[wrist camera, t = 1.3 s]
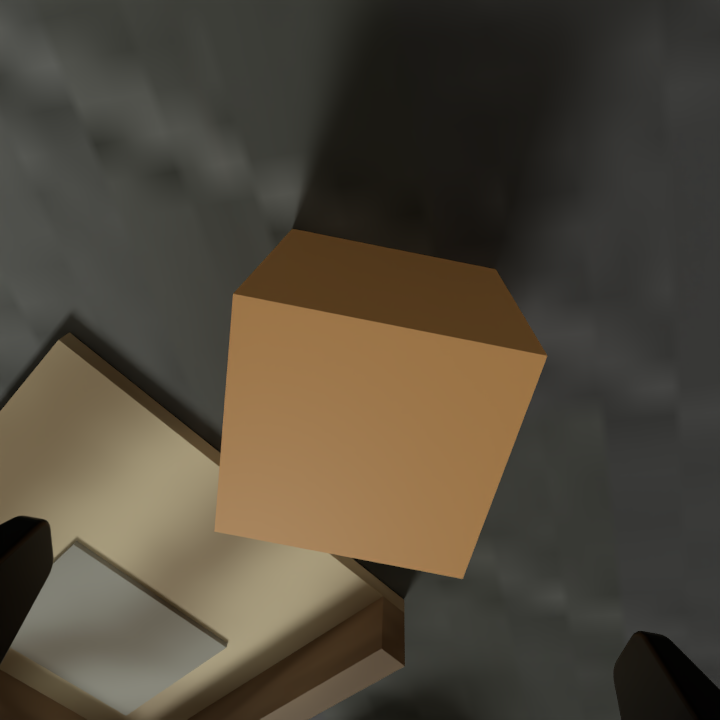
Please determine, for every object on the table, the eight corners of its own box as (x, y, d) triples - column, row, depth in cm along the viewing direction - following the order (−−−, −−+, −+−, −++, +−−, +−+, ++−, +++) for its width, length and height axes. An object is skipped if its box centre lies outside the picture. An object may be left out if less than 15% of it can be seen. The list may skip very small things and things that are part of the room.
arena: (-141, 588, 23) (-207, 646, 21) (69, 332, 17) (12, 371, 14) (150, 755, 27) (124, 821, 25) (403, 600, 21) (404, 666, 19)
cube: (271, 403, 18) (214, 531, 12) (292, 228, 15) (233, 294, 10) (444, 437, 18) (462, 578, 12) (495, 268, 15) (547, 355, 10)
